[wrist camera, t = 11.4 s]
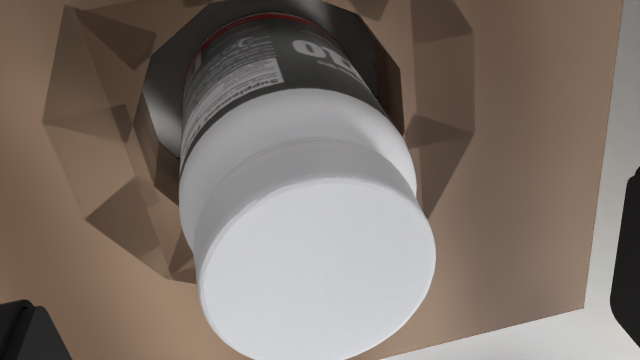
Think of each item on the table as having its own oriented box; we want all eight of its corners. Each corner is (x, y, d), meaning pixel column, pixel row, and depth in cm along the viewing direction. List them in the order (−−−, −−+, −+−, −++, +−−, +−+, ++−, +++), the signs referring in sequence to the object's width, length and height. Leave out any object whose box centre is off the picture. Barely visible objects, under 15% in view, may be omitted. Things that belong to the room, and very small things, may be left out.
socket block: (596, -381, 13) (678, -424, 11) (546, 262, 22) (583, 308, 20) (-294, -251, 11) (-408, -270, 9) (60, 380, 21) (45, 442, 18)
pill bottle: (380, 102, 18) (509, 285, 10) (255, 193, 18) (295, 421, 11) (285, -31, 15) (368, 90, 8) (145, 80, 16) (109, 280, 9)
